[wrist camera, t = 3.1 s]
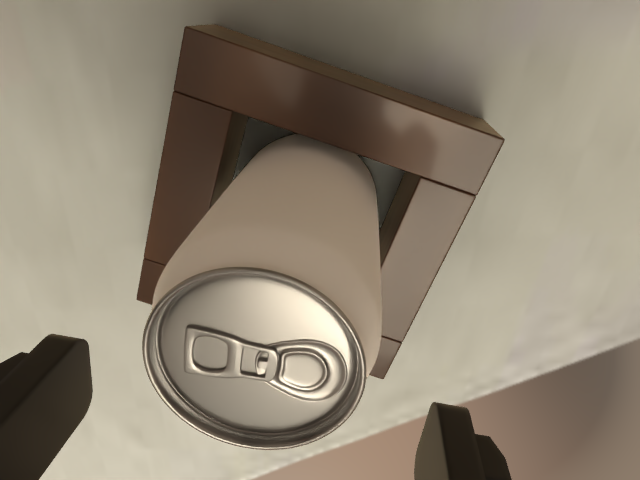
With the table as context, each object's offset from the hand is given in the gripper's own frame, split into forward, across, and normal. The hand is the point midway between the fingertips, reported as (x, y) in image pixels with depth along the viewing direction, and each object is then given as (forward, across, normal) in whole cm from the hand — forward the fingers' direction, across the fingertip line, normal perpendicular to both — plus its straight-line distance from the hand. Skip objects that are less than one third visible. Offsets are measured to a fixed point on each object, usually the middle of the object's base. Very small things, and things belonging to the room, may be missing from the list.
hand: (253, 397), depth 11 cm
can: (+13, 0, 0) cm, 13 cm away
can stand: (+13, 0, 0) cm, 13 cm away
